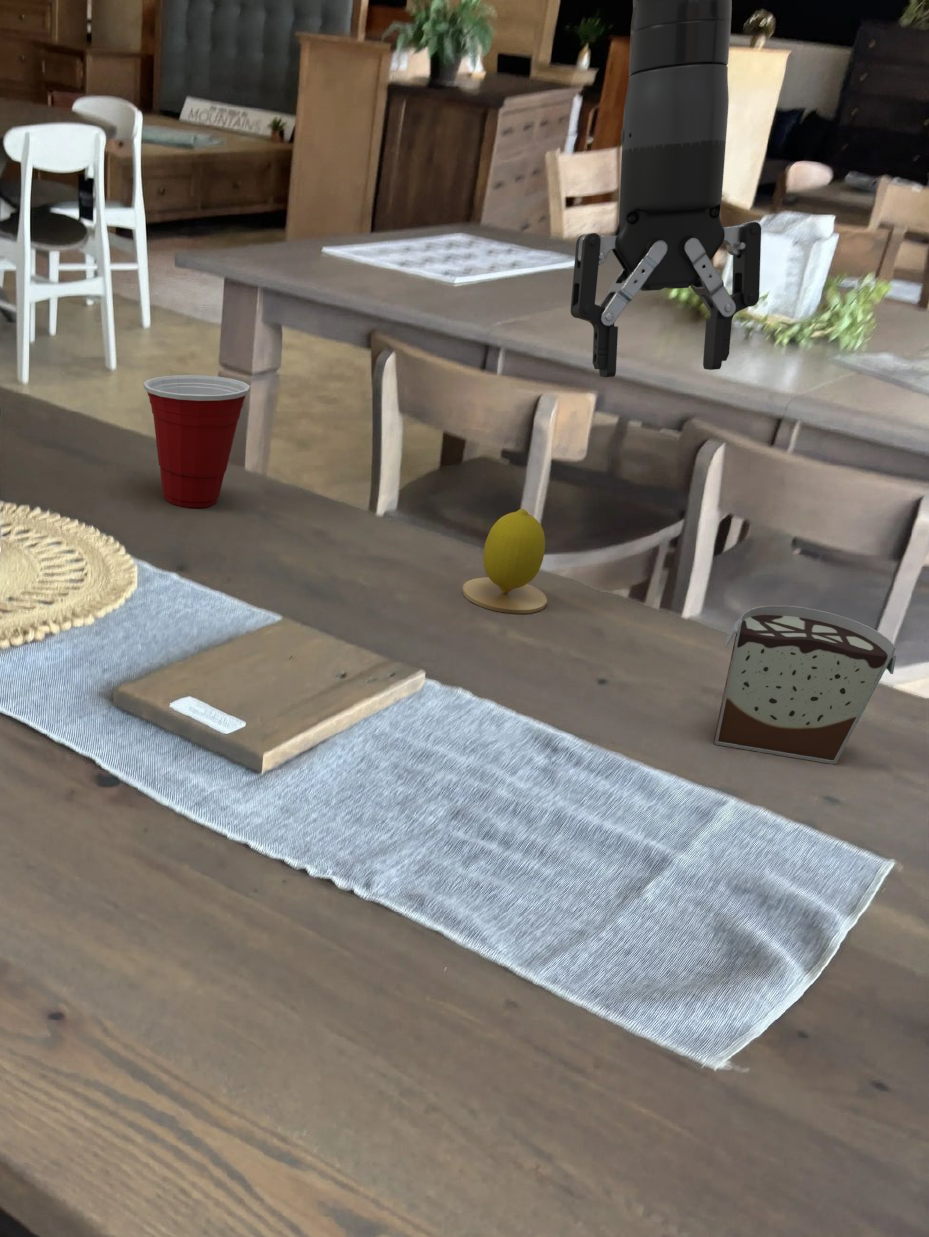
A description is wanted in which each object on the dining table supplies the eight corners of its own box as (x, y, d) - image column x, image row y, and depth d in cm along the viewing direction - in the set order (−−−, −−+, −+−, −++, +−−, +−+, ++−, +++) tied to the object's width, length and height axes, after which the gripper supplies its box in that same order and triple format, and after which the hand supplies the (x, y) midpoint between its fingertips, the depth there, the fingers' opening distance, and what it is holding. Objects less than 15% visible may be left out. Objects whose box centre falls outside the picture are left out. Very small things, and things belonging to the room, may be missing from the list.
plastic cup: (186, 476, 148) (194, 362, 141) (260, 503, 143) (272, 387, 136) (116, 493, 141) (121, 374, 134) (191, 523, 136) (200, 401, 129)
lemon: (469, 595, 125) (486, 511, 121) (484, 577, 130) (501, 495, 125) (526, 609, 124) (546, 524, 119) (540, 590, 128) (559, 508, 124)
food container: (840, 733, 109) (886, 617, 103) (855, 767, 104) (903, 648, 98) (688, 708, 110) (724, 592, 105) (695, 741, 105) (733, 621, 100)
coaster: (529, 582, 131) (530, 578, 131) (558, 615, 125) (559, 610, 124) (451, 579, 130) (452, 576, 129) (476, 612, 123) (477, 608, 123)
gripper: (595, 143, 97) (586, 382, 104) (788, 129, 98) (766, 368, 104) (566, 153, 104) (559, 377, 111) (746, 140, 104) (729, 364, 111)
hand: (659, 373), depth 108 cm, fingers open, 8 cm apart
